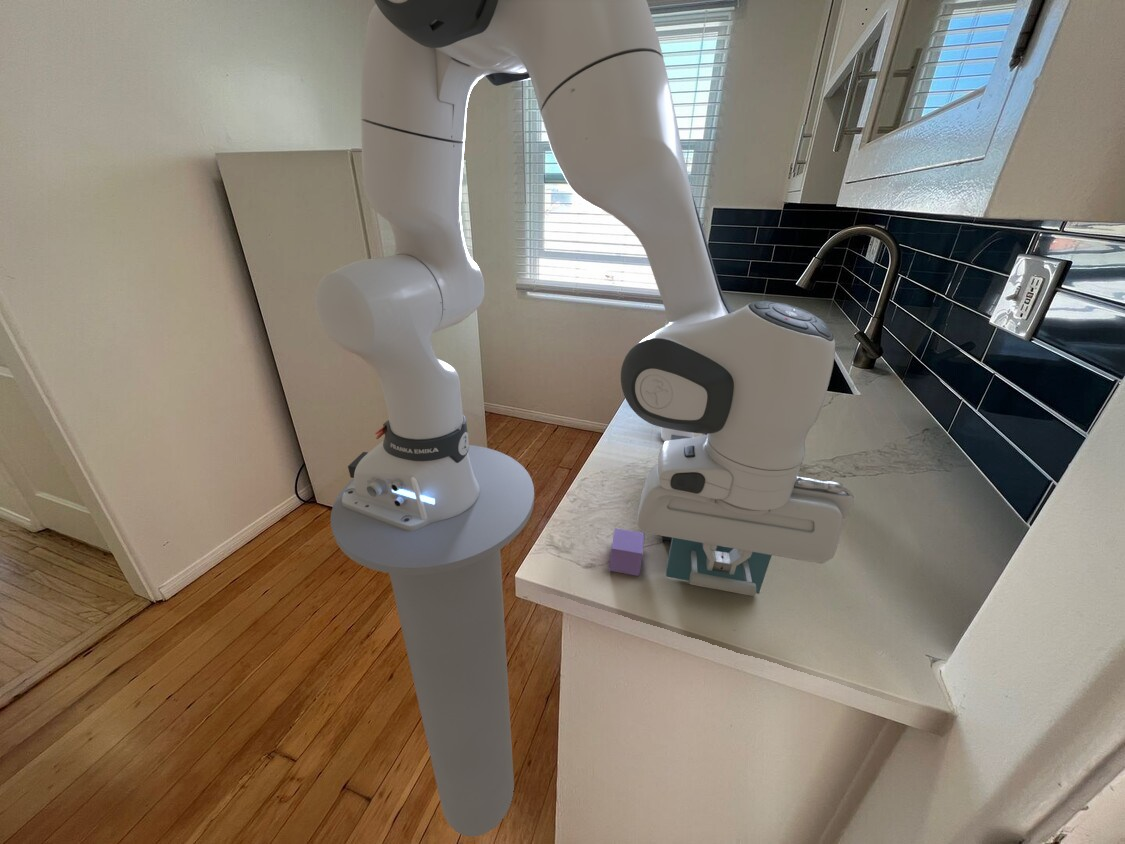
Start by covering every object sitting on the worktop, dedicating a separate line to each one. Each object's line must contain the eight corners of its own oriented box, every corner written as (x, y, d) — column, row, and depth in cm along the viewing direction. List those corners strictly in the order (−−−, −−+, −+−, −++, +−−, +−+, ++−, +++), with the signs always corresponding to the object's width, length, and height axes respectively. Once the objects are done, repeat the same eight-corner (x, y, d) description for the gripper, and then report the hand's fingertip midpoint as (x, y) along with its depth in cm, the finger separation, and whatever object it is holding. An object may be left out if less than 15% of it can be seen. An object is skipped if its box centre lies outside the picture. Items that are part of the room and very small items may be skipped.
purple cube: (609, 570, 59) (611, 548, 57) (612, 549, 62) (614, 527, 60) (639, 576, 58) (642, 554, 56) (641, 554, 61) (644, 532, 60)
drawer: (766, 627, 51) (783, 579, 47) (665, 607, 53) (674, 559, 49) (744, 522, 66) (756, 480, 63) (667, 510, 69) (674, 469, 65)
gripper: (849, 468, 45) (808, 565, 52) (648, 440, 49) (634, 534, 56) (872, 506, 40) (824, 609, 46) (644, 471, 44) (629, 572, 50)
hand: (719, 568), depth 51 cm, fingers closed
